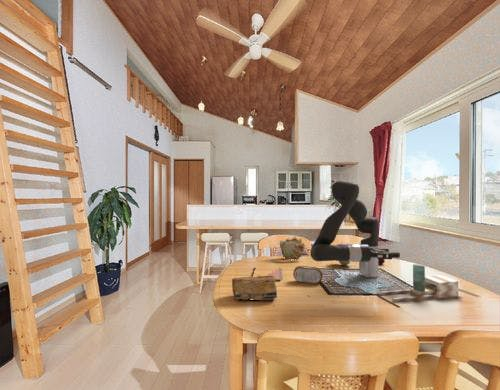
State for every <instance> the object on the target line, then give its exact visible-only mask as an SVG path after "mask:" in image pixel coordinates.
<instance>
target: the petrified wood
mask: <svg viewBox="0 0 500 390" xmlns="http://www.w3.org/2000/svg"><path fill="white" fill-rule="evenodd" d="M231 281H232V282H231V287H232V296H233V295H234V296H233V298H234V299H235V300H239V299H242V300H241V301H243V300H245V301H249V300H248V299H253V300H261V301H268V300H274V299H276V298H278V296H277V295H278V292H277V285H276V281H275V277H273V276H257V277H252V276H243V277H242V276H241V277H234V278H232V279H231Z"/></svg>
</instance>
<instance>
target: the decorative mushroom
mask: <svg viewBox="0 0 500 390" xmlns="http://www.w3.org/2000/svg"><path fill="white" fill-rule="evenodd" d="M337 245H350V244H349V243H348V242H339V243H338V244H337ZM338 263H339V264H340V265H342V266H345V267H346V266H348V265H349V264H351V262H350V261H338Z"/></svg>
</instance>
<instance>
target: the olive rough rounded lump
mask: <svg viewBox="0 0 500 390" xmlns="http://www.w3.org/2000/svg"><path fill="white" fill-rule="evenodd" d="M305 247H307V246H306V245H305V243H303V241H302V238H300V239H298V238H297V236H293V237H292V238H290V237H288V238H286V239H285V240H280V241H279V248H280V252H281V255H282V256H283V257H285V258H286V259H287V260H288V259H290V260H289V261H291V259H294V260H293V261H297V260H298V259H299V260H300V258H301V257H302V256H303V255H304V250H305ZM283 257H282V258H283ZM295 259H296V260H295Z"/></svg>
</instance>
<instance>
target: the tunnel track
mask: <svg viewBox="0 0 500 390" xmlns="http://www.w3.org/2000/svg"><path fill="white" fill-rule="evenodd" d="M430 286H437V294H434V295H422V296H414V295H412V294H410V288H409V289H396V290H386V291H385V290H384V291H379V292H377V294H376V297H377V298H379V299H380V300H383V301H384V302H386V303H388V304H390V305H392V306H394V307H396V308H398V309H399V308H402V306H400V305H403V304H412V303H414V304H416V303H423V302H426V303H427V302H436V301H445V300H446V301H447V300H448V301H449V300H455V299H456V300H457V299H465V297H464V296H462V295H459V292H461V293H464V294H467V295H470V296H472V297H476V298H477V297H478V298H480V297H482V296H481V295H478V294H475V293H473V292H470V291H468V290H467V291H466V290H464V289H461V288H459V281H458V280H457V279H456V280H455V279H451V278H449V277H446V276H444V275H440V274H439V275H430V276H429V275H427V276H426V275H425V287H430Z"/></svg>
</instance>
